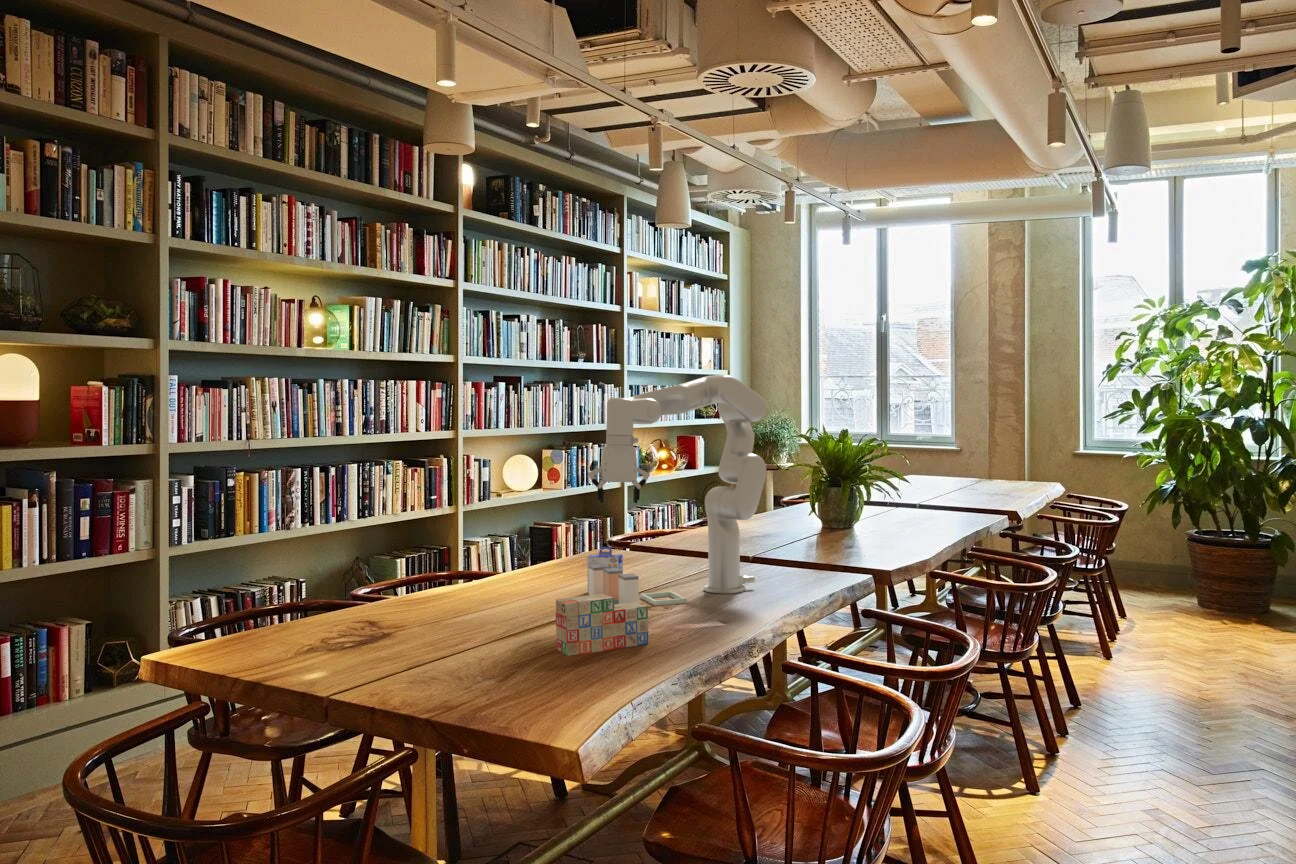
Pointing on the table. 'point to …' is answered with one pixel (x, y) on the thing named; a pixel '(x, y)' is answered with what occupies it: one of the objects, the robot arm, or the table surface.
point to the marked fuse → (611, 582)
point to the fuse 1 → (596, 579)
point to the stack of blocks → (599, 624)
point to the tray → (650, 596)
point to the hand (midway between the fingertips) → (618, 502)
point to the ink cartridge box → (605, 560)
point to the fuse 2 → (628, 588)
